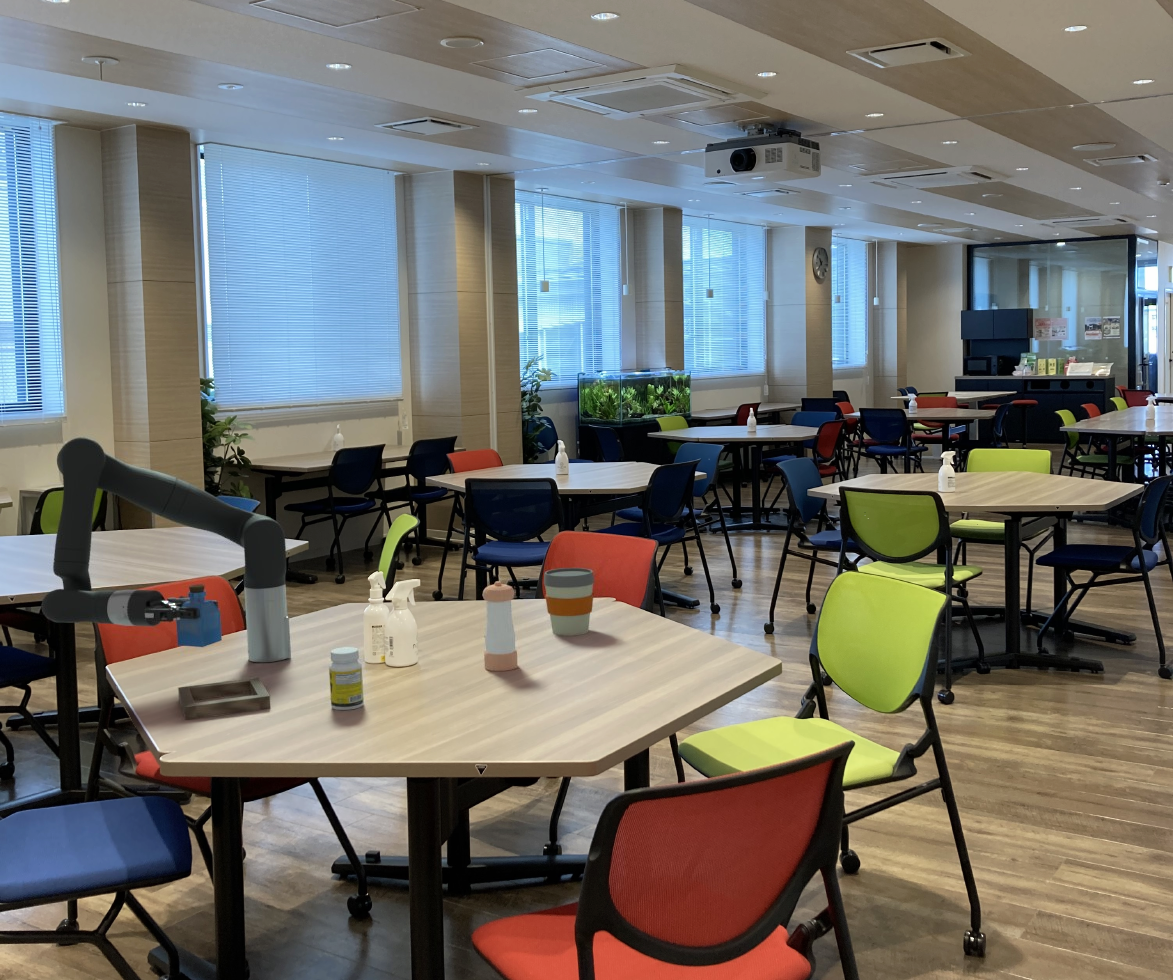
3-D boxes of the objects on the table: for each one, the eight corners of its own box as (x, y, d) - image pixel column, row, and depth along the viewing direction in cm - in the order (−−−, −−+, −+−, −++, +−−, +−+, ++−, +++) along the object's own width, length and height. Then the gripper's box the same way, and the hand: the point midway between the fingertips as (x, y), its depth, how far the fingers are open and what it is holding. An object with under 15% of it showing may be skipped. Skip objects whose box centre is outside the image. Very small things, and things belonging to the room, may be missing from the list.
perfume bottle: (221, 640, 246) (218, 583, 245) (202, 647, 240) (199, 589, 239) (197, 638, 248) (194, 582, 247) (177, 645, 242) (174, 587, 241)
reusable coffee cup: (605, 628, 295) (603, 569, 294) (578, 639, 285) (576, 578, 283) (563, 624, 302) (561, 566, 300) (535, 634, 291) (533, 574, 290)
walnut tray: (259, 689, 247) (258, 677, 247) (270, 708, 233) (269, 695, 232) (178, 699, 241) (178, 687, 241) (185, 719, 226) (184, 707, 226)
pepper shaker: (477, 667, 260) (474, 582, 258) (501, 661, 265) (498, 577, 263) (500, 672, 255) (497, 585, 253) (524, 666, 260) (521, 580, 258)
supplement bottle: (335, 701, 236) (332, 646, 235) (367, 701, 236) (364, 645, 234) (327, 711, 229) (324, 654, 228) (359, 710, 229) (357, 653, 228)
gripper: (114, 596, 239) (188, 598, 236) (154, 583, 253) (224, 585, 250) (116, 633, 240) (190, 635, 236) (156, 618, 254) (226, 620, 250)
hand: (207, 609), depth 243 cm, fingers closed on perfume bottle, 6 cm apart
